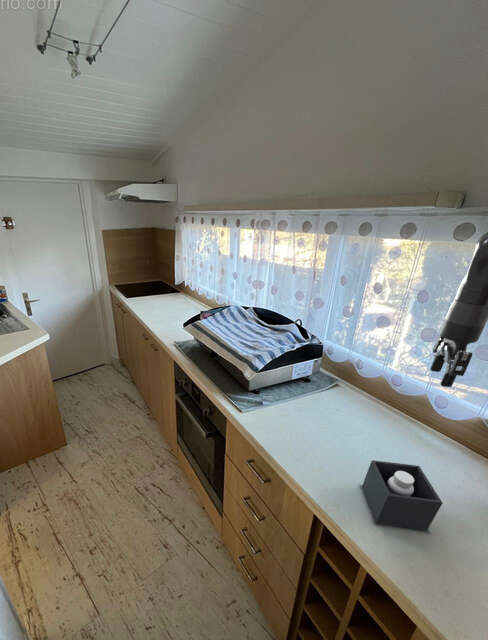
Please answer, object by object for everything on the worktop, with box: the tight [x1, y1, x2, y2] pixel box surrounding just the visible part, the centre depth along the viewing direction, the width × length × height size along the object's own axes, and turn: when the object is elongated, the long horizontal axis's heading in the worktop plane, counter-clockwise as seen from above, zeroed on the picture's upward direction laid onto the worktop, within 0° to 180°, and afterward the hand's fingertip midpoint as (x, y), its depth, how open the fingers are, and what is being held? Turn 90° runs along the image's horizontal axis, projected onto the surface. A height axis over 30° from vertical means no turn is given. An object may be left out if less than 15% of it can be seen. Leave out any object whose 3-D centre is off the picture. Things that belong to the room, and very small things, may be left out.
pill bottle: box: [386, 471, 414, 497], centre depth 76 cm, size 5×5×10 cm
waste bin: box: [361, 459, 443, 532], centre depth 76 cm, size 11×11×10 cm
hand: (439, 378), depth 81 cm, fingers open, 8 cm apart
